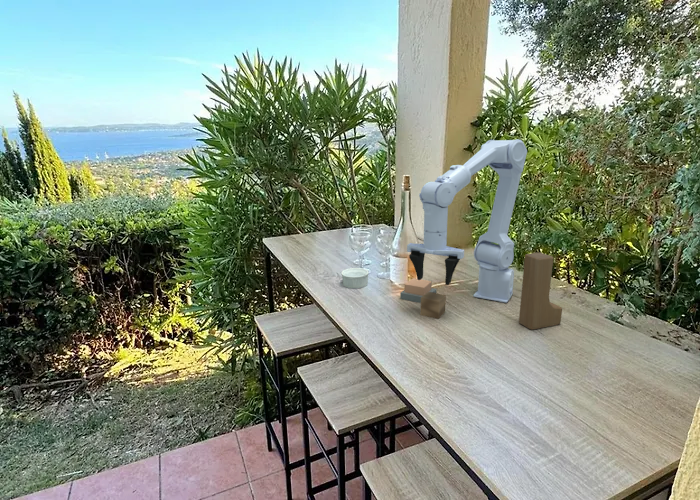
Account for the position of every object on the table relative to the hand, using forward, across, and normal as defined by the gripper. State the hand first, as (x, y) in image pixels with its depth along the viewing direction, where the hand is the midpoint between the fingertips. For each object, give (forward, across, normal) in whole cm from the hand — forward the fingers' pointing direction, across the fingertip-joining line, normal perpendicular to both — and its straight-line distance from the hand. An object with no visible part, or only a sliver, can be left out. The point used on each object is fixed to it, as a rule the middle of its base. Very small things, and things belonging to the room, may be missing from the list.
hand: (433, 281), depth 103 cm
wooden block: (+9, +25, +7) cm, 28 cm away
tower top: (+7, -8, +9) cm, 14 cm away
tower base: (+10, -8, +9) cm, 16 cm away
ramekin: (+10, -30, +9) cm, 33 cm away
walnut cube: (+9, 0, 0) cm, 9 cm away
